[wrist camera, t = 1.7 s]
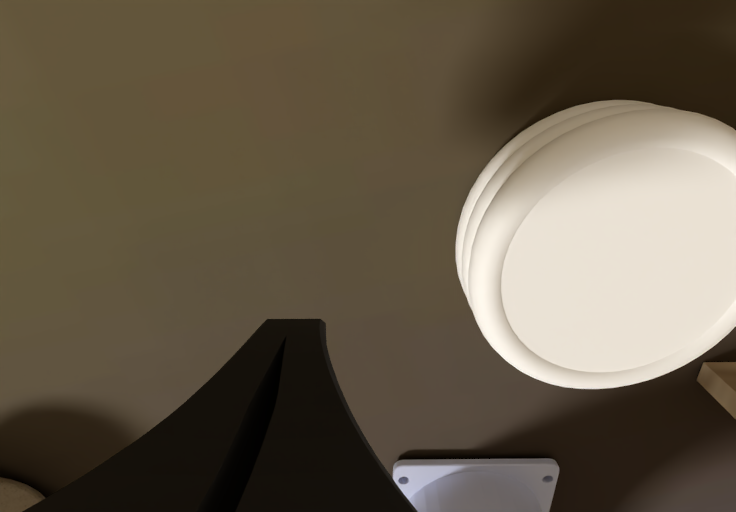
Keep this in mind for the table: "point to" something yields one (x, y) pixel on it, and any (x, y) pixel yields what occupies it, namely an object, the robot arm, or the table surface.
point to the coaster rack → (720, 383)
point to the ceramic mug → (17, 496)
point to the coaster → (604, 244)
